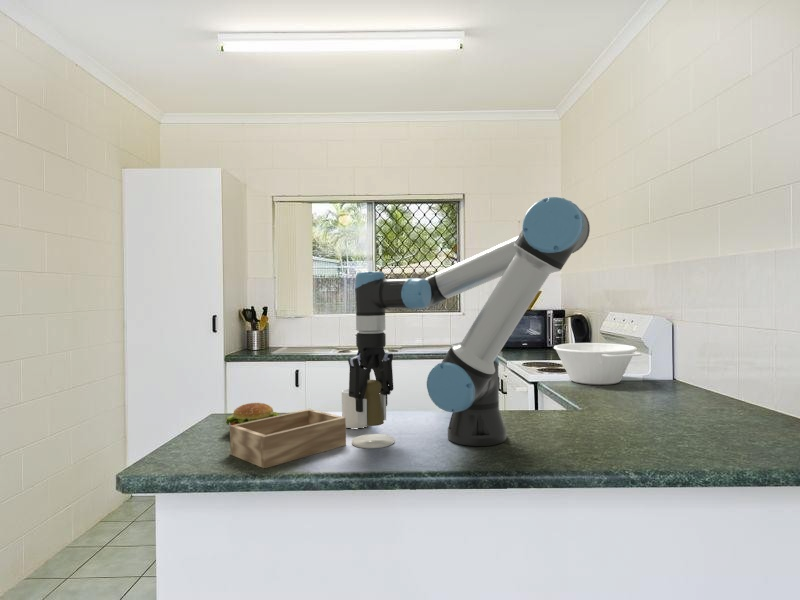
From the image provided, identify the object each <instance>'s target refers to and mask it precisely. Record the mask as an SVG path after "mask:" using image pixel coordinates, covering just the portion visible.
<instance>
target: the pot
mask: <svg viewBox="0 0 800 600" xmlns="http://www.w3.org/2000/svg"><path fill="white" fill-rule="evenodd" d="M553 349H554V350H555V351H556V353H557V354H558V357H559V360H560V361H561V363H562V365H563V367H564V369H565V371H566V374H567V375H568V378H569V380H571V381H572V382H573V383H577V384H581V385H589V386H590V385H591V386H609V385H614V384H619V383H620V382H621V381H622V378H623V377H624V375H625V372H626V370H627V368H628V366H629V364H630V362H631V361H632V358H633V357H638V356H640V357H641V356H642V353H641V352H636V351H638V348H637V347H636V346H635V345H634V346H633V345H630V344H629V345H628V344H623V343H622V344H621V343H609V342H608V343H607V342H571V343H561V344H557V345H554V346H553Z"/></svg>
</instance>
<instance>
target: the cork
mask: <svg viewBox="0 0 800 600" xmlns="http://www.w3.org/2000/svg"><path fill="white" fill-rule="evenodd" d="M381 388H382V385H381V383H380V382H379V381H377V380H376V379H368V381H367V386H366V391H365V396H364V399H367V425H365V426H369V427H374V426H380V425H384V423H385V420H383V414H382V407H381V400H380V391H381Z"/></svg>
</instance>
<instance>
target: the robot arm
mask: <svg viewBox="0 0 800 600" xmlns="http://www.w3.org/2000/svg"><path fill="white" fill-rule="evenodd" d="M522 222H523V223H522V230H521V231H520V233H519V234H518V236H515V237H512V238H510V239H509V240H507V241H504V242H502V243H499V244H498V245H496V246H492V247H491V248H489V249H487V250H484V251H481V252H480V253H478V254H475V255H473V256H471V257H468V258H467V259H464V260H462V261H460V262H457V263H455V264H453V265H451V266H449V267H447V268H444V269H443V270H439V271H438V272H436V273H433V274H431V275H428V276H427V277H425V278H419V277H410V278H392V279H389V278H386V275H385V273H384V272H383V271H359V272H357V274H356V275H355V288H354V292H355V310H356V311H355V330H356V331H357V333H356V335H355V336H356V337H355V339H356V340H355V343H356V347H357V353H356V355H355V356H353V357H348V359H347V361H348V367H349V373H348V374H349V378H348V389H349V396H350V397H353V398H355V400H356V411H357V412H358V424H361V425H367V399H364V396H365V391H366V386H367V381H368V380H369V377H370V374H371V372H372V371H373V374H374V376H375V380H377V381H379V382H380V383H381V385H382V388H381V391H380V400H381V407H382V414H383V421H387V407H388V396H389V395H391V392H392V391H394V378H393V376H394V375H393V374H394V373H393V358H394V354H393V353H392V352H391V353H389V352H386V351H385V349H384V347H385V346H386V344H387V342H386V339H387V338H386V337H387V335H386V334H387V333H385V332H384V331H385V330H386V309H387V310H388V309H393V310H395V309H397V310H423V309H426V308H433V307H436V306H439V305H441V304H442V302H443V301H446V300H448V299H450V298H452V297H455V296H457V295H460V294H463V293H465V292H467V291H469V290H472V289H474V288H476V287H479V286H482V285H484V284H486V283H488V282H491V281H494V280H495V279H498V278H500V279H499V281H498V282H497V284H496V285H495V287H494V289H493V290H492V292H491V294H490V295H489V297H488V299H487V300H486V302H485V303H484V305H483V306H482V307H481V310H480V311H479V313H478V315H477V317H476V318H475V320H474V321H473V323H472V325H471V326H470V328H469V330H468V331H467V332H466V334H465V336H464V337H463V339H462V340H461V342H455V343H453V344H452V345H451V346H450V348H449V349H448V352H446V354H445V356H444V357H443V359H442V361H441V362H439V363H437V364H436V365H435V366H434V367H433V368H432V369H431V370H430V371H429V373H428V375H427V379H426V389H427V392H428V396H429V398H430V399H431V401H432V403H433V404H434V405H435V406H436V407H438V408H439V409H441V410H442V411H444V412H448V413H451V417H450V419H449V424H448V427H447V439H448V440H449V441H450V442H452V443H454V444H456V445H457V444H458V445H463V446H470V447H471V446H472V447H486V446H489V447H490V446H496V445H500V444H502V443H504V442H506V440H507V429H506V427H505V422H504V421H503V417H502V414H501V411H500V404H499V402H500V400H499V399H500V396H499V395H500V394H499V391H500V390H499V388H500V387H499V386H500V385H499V384H500V383H499V379H500V378H499V365H500V364H499V363H500V362H499V354H500V353H501V351H502V349H503V348H504V346H505V345H506V343H507V341H508V340H509V338H510V337H511V335H512V334H513V332H514V331H515V329H516V328H517V326H518V325H519V323H520V322H521V320H522V318H523V317H524V315H525V313H526V312H527V310H528V309H529V307H530V306H531V304H532V302H533V300H535V298H536V296H538V293H539V292H540V290H541V288H542V287H543V285H544V284H545V282H546V280H547V279H548V278H549V276H550V275H551V274H553V273H557V272H561V270H562V269H563V268H564V266H565V264H566V263H567V261H568V260H569V258H570V257H571V255H572V254H574V253H576V252H578V251H580V249H582V248H583V247H584V245H585V244H586V243H587V241H588V239H589V236H590V232H591V228H590V227H591V226H590V221H589V218H588V216H587V215H586V213H584V212H583V210H581V208H579V206H578V205H577V204H576V203H574V202H573V201H571V200H568V199H566V198H564V197H557V196H556V197H555V196H551V197H550V196H549V197H546V198H542V199H540V200H538V201H537V202H535V203H533V204H532V206H531V207H529V209H528V210H527V211H526V213H525V215H524V218H523V221H522Z"/></svg>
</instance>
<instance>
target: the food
mask: <svg viewBox="0 0 800 600" xmlns="http://www.w3.org/2000/svg"><path fill="white" fill-rule="evenodd" d="M278 415H279V413H278V412H276V411H274V409H273V407H272V406H270V404H267V403H261V402H249V403H245V404H242V405H240V406H238V407H236V408H235V409H234V410H233V413H231V415H229V416H228V417H227V416H225V421H226V423H225V424H226V425H227V426H231V425H236V424H240V423H245V422H250V421H255V420H259V419H264V418H269V417H273V416H278ZM229 424H230V425H229Z"/></svg>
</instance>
